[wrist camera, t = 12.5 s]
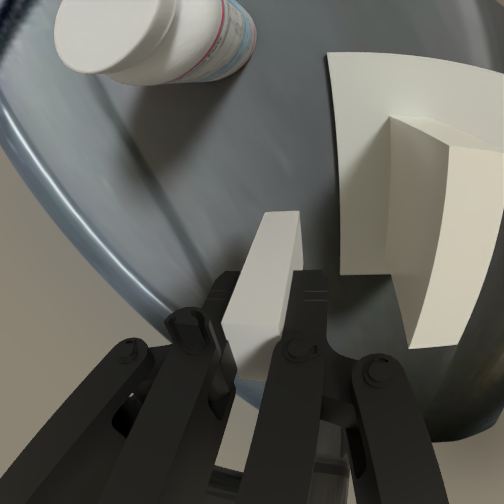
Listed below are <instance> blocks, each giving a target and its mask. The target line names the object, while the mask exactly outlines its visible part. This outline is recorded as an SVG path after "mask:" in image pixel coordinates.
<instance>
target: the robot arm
mask: <svg viewBox="0 0 504 504" xmlns="http://www.w3.org/2000/svg"><path fill="white" fill-rule="evenodd" d="M327 281H328V279H327V278H326V276H325V275H324V273H323V272H322V270H303V252H302V238H301V226H300V214H299V211H281V212H265V214H264V216H263V219H262V221H261V224H260V226H259V229H258V231H257V234H256V236H255V239H254V241H253V244H252V246H251V249H250V251H249V254H248V256H247V259H246V261H245V264H244V266H243V269H242V271H225V272H224V273H223V274H222V275H220V276H219V277H218V278H217V279H216V280H215V282H214V284H213V286H212V288H211V291H210V292H209V295H208V297H207V300H206V301H205V303H204V305H203V307H202V309H201V308H197V307H185V308H182V309H179V310H177V311H175V312H174V313H172V314H171V315H169V316H168V317H167V319H166V320H165V321H164V323H165V325H166V327H167V329H168V331H169V333H170V335H171V337H172V339H173V341H174V342H173V344H170V345H165V346H159V347H150V348H148V346H147V344H146V343H145V342H144V341H143V340H142V339H139V338H128V339H125V340H123V341H121V342H119V343H118V344H117V345H116V346H115V347H113V349H112V350H111V351H110V352H109V353H108V354H107V355H106V356H105V357H104V358H103V359H102V361H101V362H100V363H99V364H98V365H97V366H96V367H95V368H94V369H93V370H92V371H91V373H90V374H89V375H88V376H87V377H86V378H85V379H84V381H82V383H81V384H80V385H79V386H78V387H77V388H76V389H75V390H74V391H73V393H72V394H71V395H70V396H69V397H68V398H67V399H66V401H65V402H64V403H63V404H62V405H61V406H60V408H59V409H58V410H57V411H56V412H55V413H54V414H53V416H52V417H51V418H50V419H49V420H48V421H47V422H46V424H45V425H44V426H43V427H42V428H41V429H40V431H39V432H38V433H37V434H36V436H35V437H34V438H33V439H32V440H31V441H30V443H29V444H28V445H27V446H26V447H25V449H24V450H23V451H22V452H21V454H20V455H19V456H18V457H17V458H16V460H15V461H14V462H13V463H12V465H11V466H10V467H9V468H8V470H7V471H6V472H5V474H4V475H3V476H2V477H1V479H0V504H347V497H348V487H349V474H350V469H351V475H352V480H353V486H354V491H355V497H356V503H357V504H449V502H448V498H447V494H446V490H445V487H444V482H443V479H442V475H441V472H440V469H439V465H438V462H437V459H436V456H435V452H434V449H433V446H432V443H431V440H430V437H429V434H428V431H427V428H426V425H425V423H424V420H423V417H422V414H421V412H420V409H419V406H418V404H417V401H416V398H415V396H414V393H413V391H412V388H411V386H410V383H409V381H408V378H407V376H406V374H405V371H404V369H403V367H402V366H401V364H400V363H399V361H398V360H396V359H395V358H393V357H391V356H389V355H385V354H381V353H378V354H370V355H367V356H365V357H362V358H361V359H360V360H359V361H358V360H355V359H351V358H348V357H345V356H342V355H340V354H338V353H337V352H335V351H334V350H333V349H332V348H331V347H330V346H329V344H328V341H327V337H326V330H327ZM237 372H238V375H239V378H240V379H241V380H251V381H262V382H266V385H265V389H264V393H263V397H262V402H261V406H260V410H259V414H258V418H257V423H256V426H255V430H254V434H253V439H252V443H251V446H250V450H249V454H248V458H247V462H246V465H245V469H244V473H243V472H239V471H235V470H231V469H227V468H223V467H219V466H216V465H214V464H215V461H216V457H217V454H218V451H219V448H220V445H221V441H222V438H223V435H224V431H225V428H226V425H227V422H228V418H229V415H230V411H231V408H232V404H233V401H234V398H235V394H236V387H235V385H234V379H235V376H236V373H237ZM131 393H134V395H133V396H131V397H129V396H130V394H131Z"/></svg>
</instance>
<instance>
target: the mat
mask: <svg viewBox="0 0 504 504" xmlns="http://www.w3.org/2000/svg"><path fill="white" fill-rule="evenodd" d="M327 59H328V65H329V73H330V80H331V88H332V96H333V105H334V115H335V126H336V138H337V151H338V168H339V190H340V275H370V274H391V273H390V270H389V266H388V263H387V260H386V256H385V246H386V236H387V225H388V211H389V193H390V118H389V116H400V117H415V118H426V119H433V120H436V121H439V122H441V123H444V124H447V125H449V126H452V127H454V128H457V129H459V130H461V131H464V132H466V133H468V134H471V135H473V136H475V137H477V138H480V139H482V140H484V141H486V142H488V143H490V144H492V145H494V146H496V147H498V148H500V149H502V150H504V74H501V73H498V72H494V71H491V70H487V69H483V68H479V67H475V66H471V65H466V64H462V63H457V62H452V61H446V60H440V59H434V58H427V57H420V56H411V55H401V54H388V53H367V52H332V53H327Z"/></svg>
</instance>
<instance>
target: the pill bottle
mask: <svg viewBox="0 0 504 504" xmlns="http://www.w3.org/2000/svg"><path fill="white" fill-rule="evenodd" d="M54 38H55V46H56V50H57V53H58V55H59V57H60V59H61V60H62V62H63V63H64V64H65V65H66V66H67V67H68V68H70V69H71V70H73V71H75V72H78V73H81V74H90V75H91V74H106V75H107V76H108V77H110V78H111V79H113V80H115V81H117V82H120V83H123V84H127V85H133V86H151V85H162V84H173V83H190V82H210V81H216V80H220V79H222V78H225V77H227V76H229V75H231V74H233V73H234V72H236V71H237V70H238V69H240V68H241V67H242V66H243V65H244V64H245V63H246V62H247V60H248V59H249V58H250V56H251V55H252V53H253V50H254V47H255V44H256V28H255V25H254V22H253V20H252V18H251V16H250V15H249V14H248V12H247V11H246V10H245V9H244V8H243V7H242V6H241V5H240V4H239V3H237V2H236V1H235V0H63V1H62V3H61V6H60V8H59V11H58V14H57V17H56V22H55V29H54Z"/></svg>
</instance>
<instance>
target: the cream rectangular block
mask: <svg viewBox="0 0 504 504" xmlns="http://www.w3.org/2000/svg"><path fill="white" fill-rule="evenodd" d="M389 118H390V193H389V211H388V225H387V236H386V246H385V256H386V260H387V263H388V266H389V270H390V273H391V277H392V280H393V284H394V288H395V291H396V295H397V299H398V303H399V307H400V311H401V315H402V319H403V324H404V328H405V333H406V338H407V343H408V348H409V349H414V348H426V347H437V346H447V345H456V344H458V342H459V340H460V338H461V336H462V333H463V331H464V329H465V327H466V325H467V322H468V320H469V318H470V315H471V313H472V311H473V308H474V306H475V303H476V301H477V298H478V296H479V293H480V290H481V287H482V285H483V282H484V279H485V276H486V273H487V270H488V267H489V264H490V260H491V257H492V254H493V250H494V247H495V243H496V239H497V235H498V231H499V227H500V223H501V218H502V213H503V209H504V150H502V149H500V148H498V147H496V146H494V145H492V144H490V143H488V142H486V141H484V140H482V139H480V138H477V137H475V136H473V135H471V134H468V133H466V132H464V131H461V130H459V129H457V128H454V127H452V126H449V125H447V124H444V123H441V122H439V121H436V120H433V119H426V118H415V117H400V116H389Z"/></svg>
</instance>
